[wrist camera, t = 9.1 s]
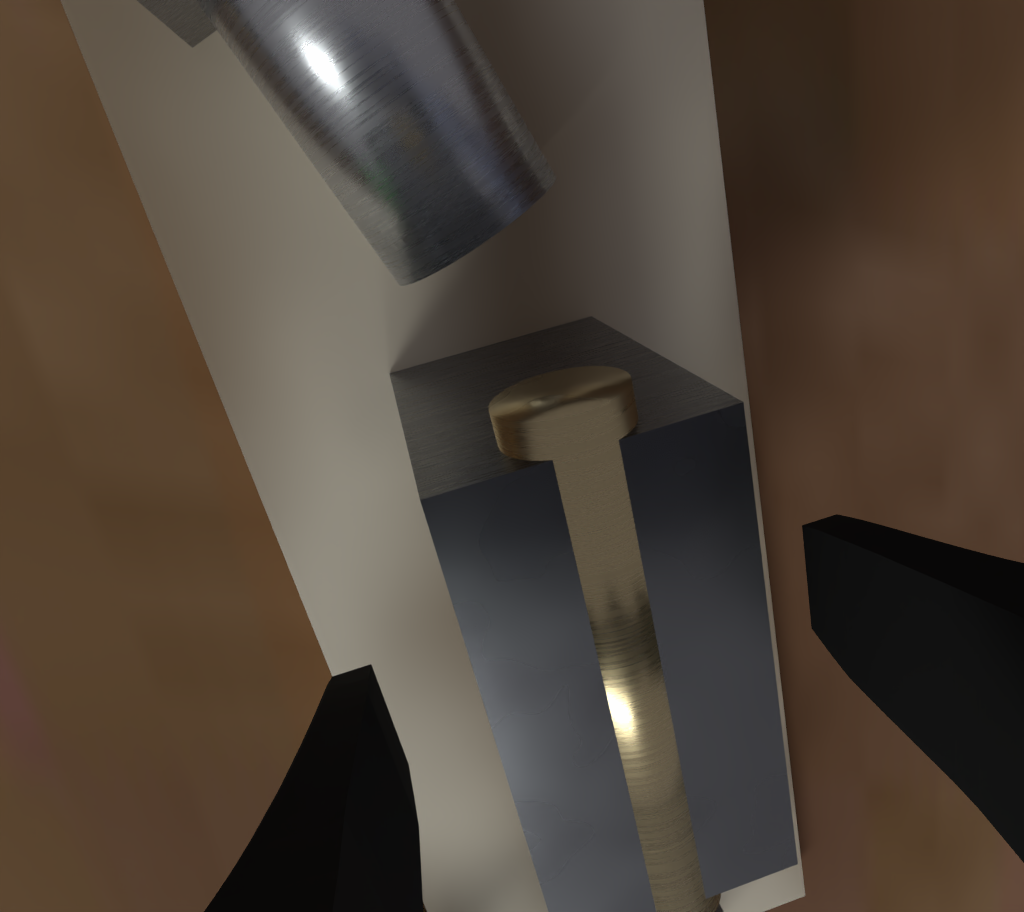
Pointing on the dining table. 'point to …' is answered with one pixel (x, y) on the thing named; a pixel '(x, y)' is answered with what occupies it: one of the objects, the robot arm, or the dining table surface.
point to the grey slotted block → (609, 610)
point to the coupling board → (429, 340)
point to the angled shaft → (387, 116)
